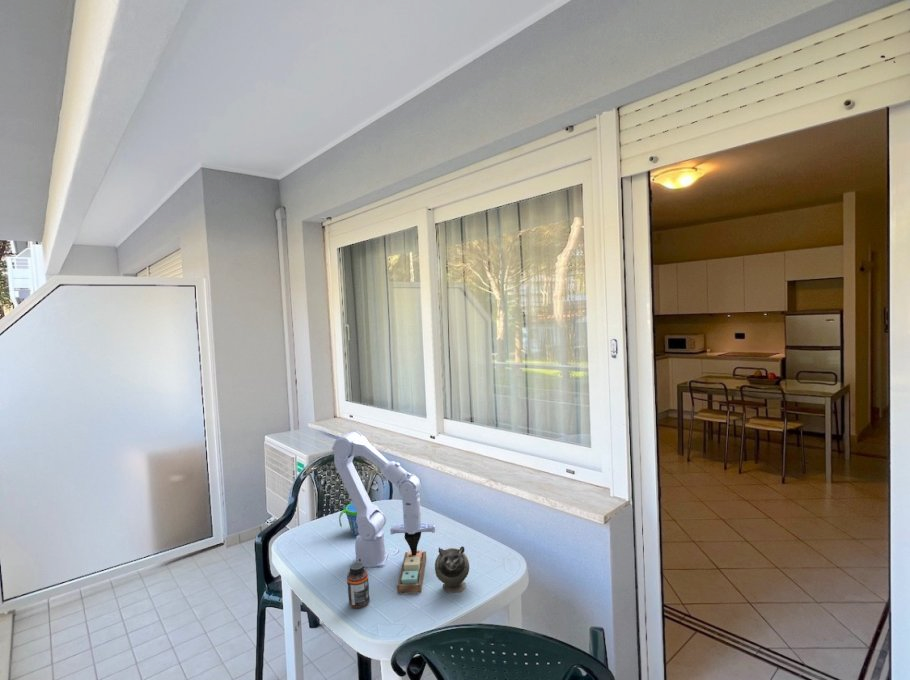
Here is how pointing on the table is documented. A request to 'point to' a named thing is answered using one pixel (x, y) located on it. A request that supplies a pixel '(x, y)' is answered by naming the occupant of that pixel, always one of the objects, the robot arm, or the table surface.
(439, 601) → the table surface
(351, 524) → the snack cup
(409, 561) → the tile one
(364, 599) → the supplement bottle
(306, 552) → the table surface
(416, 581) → the tile two
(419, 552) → the tile three
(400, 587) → the tile tray
